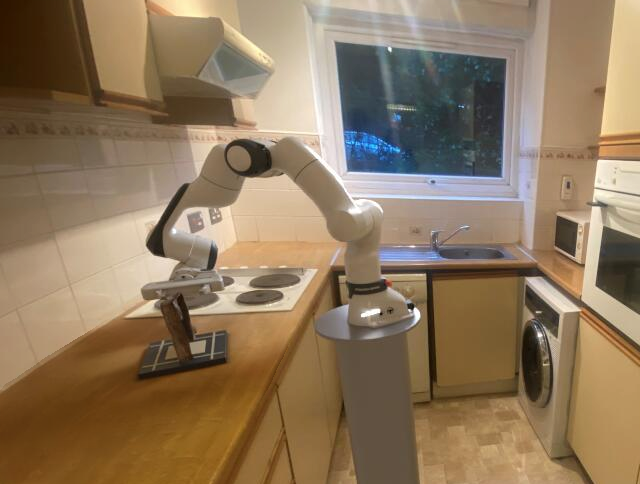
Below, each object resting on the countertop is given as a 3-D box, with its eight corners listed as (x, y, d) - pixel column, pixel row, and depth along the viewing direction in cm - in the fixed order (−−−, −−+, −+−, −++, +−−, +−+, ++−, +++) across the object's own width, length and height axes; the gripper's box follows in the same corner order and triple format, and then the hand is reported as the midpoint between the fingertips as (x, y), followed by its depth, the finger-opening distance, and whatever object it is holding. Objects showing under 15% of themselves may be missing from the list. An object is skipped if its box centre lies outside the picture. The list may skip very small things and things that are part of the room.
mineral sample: (194, 360, 110) (176, 305, 104) (174, 364, 108) (155, 308, 102) (199, 336, 124) (183, 285, 118) (181, 339, 122) (165, 287, 116)
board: (227, 334, 129) (226, 329, 128) (226, 362, 113) (225, 356, 112) (151, 347, 120) (149, 341, 120) (139, 379, 105) (137, 373, 104)
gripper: (141, 277, 130) (133, 290, 119) (221, 268, 140) (220, 279, 129) (148, 296, 132) (140, 311, 122) (226, 286, 142) (226, 299, 131)
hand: (182, 295), depth 125 cm, fingers open, 8 cm apart
